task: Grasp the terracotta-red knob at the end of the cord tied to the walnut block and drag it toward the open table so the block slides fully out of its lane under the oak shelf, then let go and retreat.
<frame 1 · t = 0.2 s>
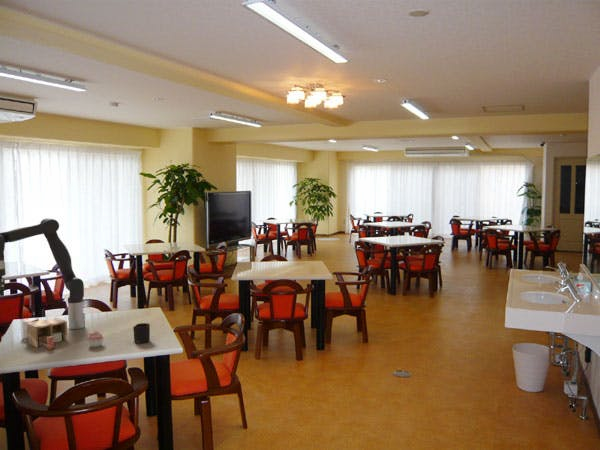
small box: (31, 336, 328), on the table
pen holder: (142, 342, 315), on the table
oak shelf: (47, 341, 317), on the table
tethered block: (42, 344, 312), on the table
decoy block: (56, 340, 319), resting in oak shelf
cupcake: (95, 346, 307), on the table
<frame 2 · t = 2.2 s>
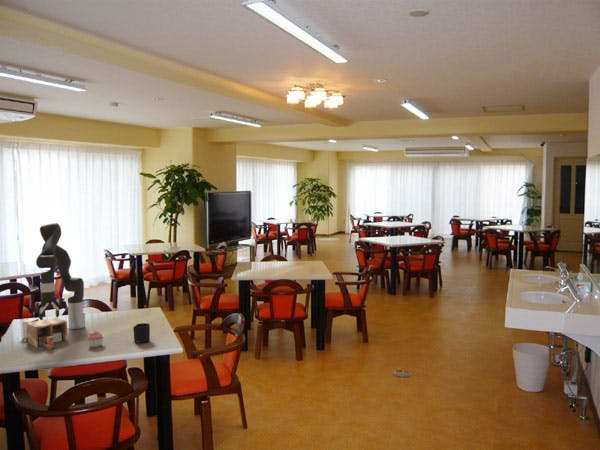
hand: (49, 318, 301), 18 cm above the table, fingers open, 8 cm apart
nothing on the table moved.
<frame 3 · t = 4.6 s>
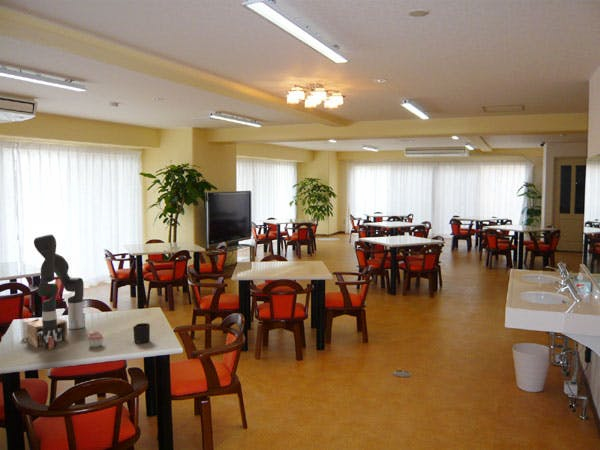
hand: (50, 347, 302), 1 cm above the table, fingers closed on tethered block, 3 cm apart
tethered block: (42, 344, 312), on the table, touching gripper
everything else where it was.
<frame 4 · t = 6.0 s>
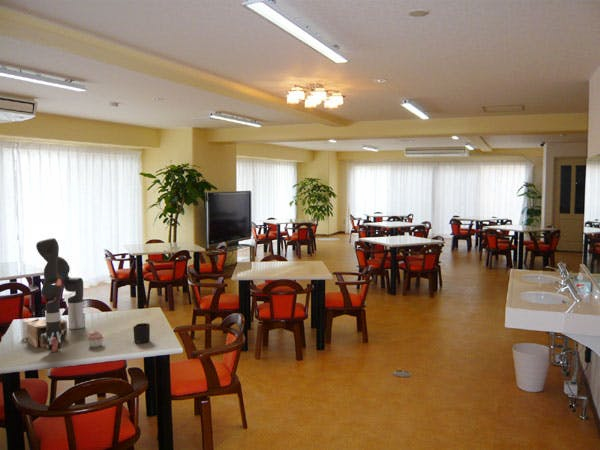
hand: (54, 349, 298), 1 cm above the table, fingers closed on tethered block, 3 cm apart
tethered block: (45, 345, 308), on the table, touching gripper
everything else where it was.
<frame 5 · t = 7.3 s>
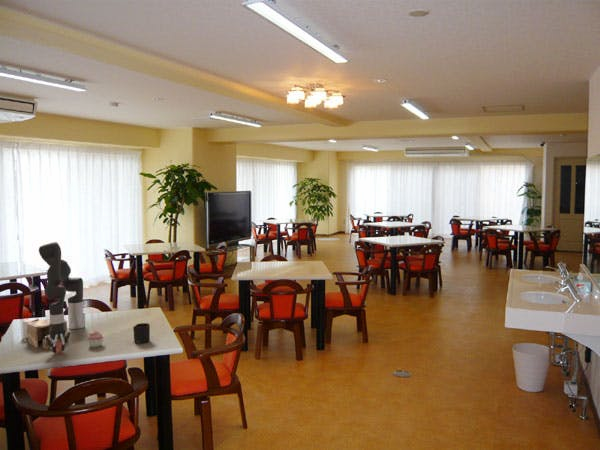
hand: (58, 351, 295), 1 cm above the table, fingers closed on tethered block, 3 cm apart
tethered block: (49, 347, 304), on the table, touching gripper
everything else where it was.
when the fingers open (1 cm above the table, at t = 7.9 s): tethered block stays where it is, on the table.
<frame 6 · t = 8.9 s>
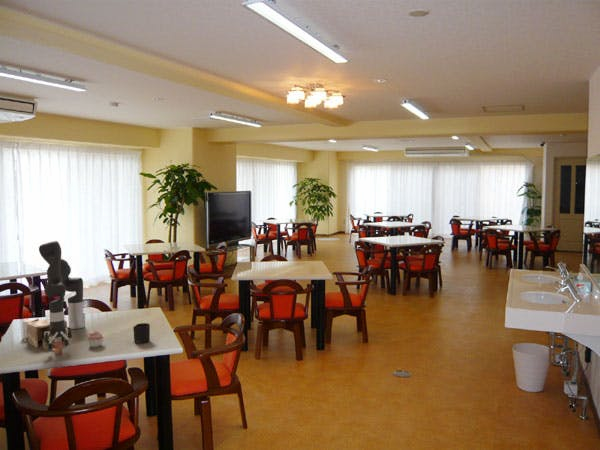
hand: (58, 347, 295), 3 cm above the table, fingers open, 8 cm apart
tethered block: (49, 348, 304), on the table
everything else where it was.
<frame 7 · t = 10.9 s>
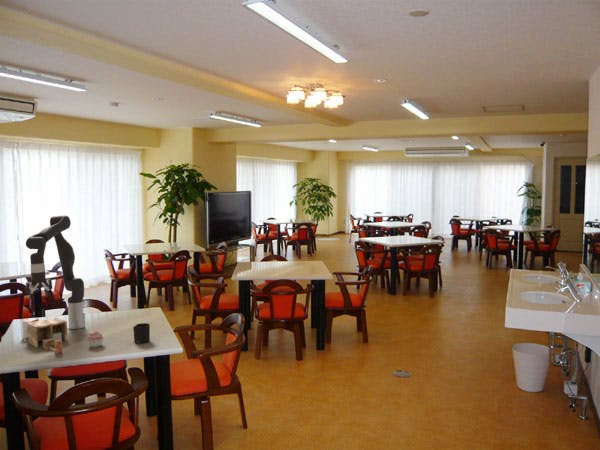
hand: (39, 298, 309), 28 cm above the table, fingers open, 8 cm apart
nothing on the table moved.
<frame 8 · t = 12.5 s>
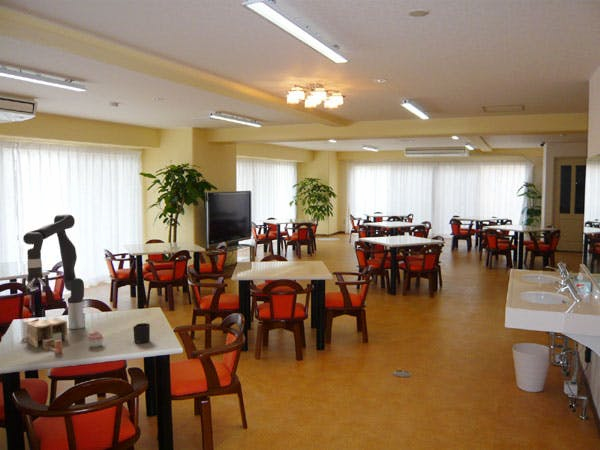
hand: (36, 293, 312), 30 cm above the table, fingers open, 8 cm apart
nothing on the table moved.
at the end: tethered block inside the target area (8.1 cm from its centre), on the table; the gripper is holding nothing; tethered block tilted 0° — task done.
